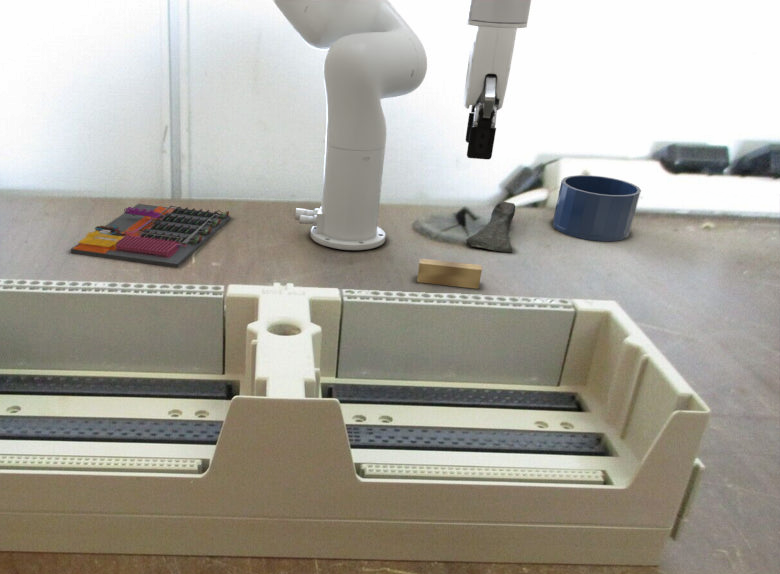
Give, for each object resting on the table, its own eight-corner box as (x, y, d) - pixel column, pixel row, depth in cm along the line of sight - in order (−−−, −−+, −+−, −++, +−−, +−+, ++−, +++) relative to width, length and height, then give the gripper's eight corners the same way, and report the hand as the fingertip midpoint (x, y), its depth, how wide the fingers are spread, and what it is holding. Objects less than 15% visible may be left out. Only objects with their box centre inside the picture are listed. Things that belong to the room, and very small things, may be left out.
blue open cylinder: (556, 236, 134) (566, 191, 130) (549, 214, 146) (558, 172, 142) (635, 244, 132) (647, 199, 128) (621, 221, 144) (633, 179, 140)
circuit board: (177, 267, 115) (177, 250, 113) (71, 252, 118) (69, 235, 117) (230, 218, 136) (230, 203, 134) (138, 206, 139) (137, 191, 138)
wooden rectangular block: (416, 282, 114) (419, 263, 112) (417, 277, 115) (420, 258, 114) (478, 289, 112) (481, 269, 111) (478, 284, 114) (481, 265, 112)
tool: (509, 261, 126) (514, 244, 125) (463, 250, 128) (467, 234, 126) (522, 214, 142) (527, 198, 140) (481, 205, 144) (485, 189, 142)
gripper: (467, 7, 105) (450, 135, 114) (469, 16, 90) (450, 162, 99) (523, 10, 104) (501, 139, 113) (535, 19, 89) (509, 167, 98)
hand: (477, 150), depth 106 cm, fingers open, 9 cm apart
